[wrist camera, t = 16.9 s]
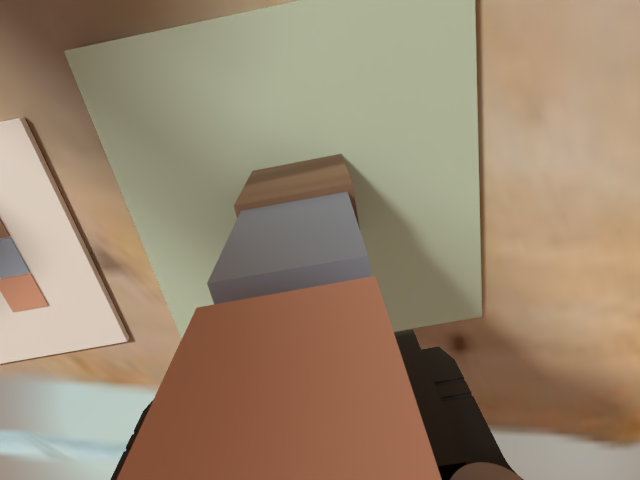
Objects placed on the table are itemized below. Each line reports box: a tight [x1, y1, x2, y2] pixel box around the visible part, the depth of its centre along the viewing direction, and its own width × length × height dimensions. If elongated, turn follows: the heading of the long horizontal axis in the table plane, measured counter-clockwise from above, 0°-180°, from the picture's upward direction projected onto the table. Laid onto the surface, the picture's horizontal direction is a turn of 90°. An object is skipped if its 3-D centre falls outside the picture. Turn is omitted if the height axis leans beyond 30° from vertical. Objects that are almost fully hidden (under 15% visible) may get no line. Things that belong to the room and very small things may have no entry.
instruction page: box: [0, 117, 129, 364], centre depth 24 cm, size 15×10×1 cm, turn 11°
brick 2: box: [117, 276, 442, 480], centre depth 8 cm, size 4×4×6 cm
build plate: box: [64, 0, 482, 339], centre depth 23 cm, size 20×20×1 cm
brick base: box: [234, 154, 360, 229], centre depth 20 cm, size 5×5×6 cm
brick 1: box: [207, 192, 371, 304], centre depth 14 cm, size 4×4×6 cm
